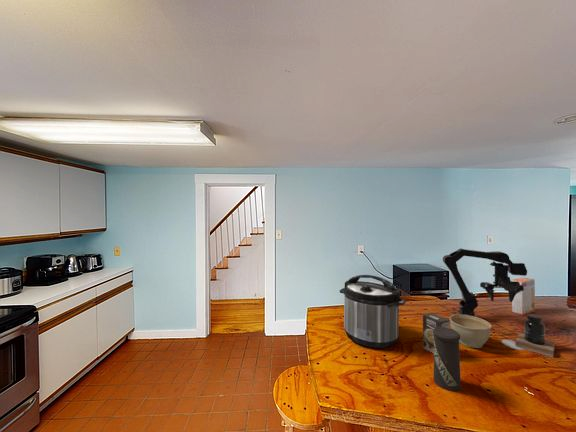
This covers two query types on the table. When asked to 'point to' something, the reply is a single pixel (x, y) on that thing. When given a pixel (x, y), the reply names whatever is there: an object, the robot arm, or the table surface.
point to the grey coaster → (511, 344)
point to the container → (446, 358)
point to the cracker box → (524, 297)
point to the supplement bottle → (534, 330)
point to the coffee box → (428, 325)
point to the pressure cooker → (371, 311)
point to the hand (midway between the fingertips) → (501, 301)
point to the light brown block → (536, 346)
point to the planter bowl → (471, 330)
